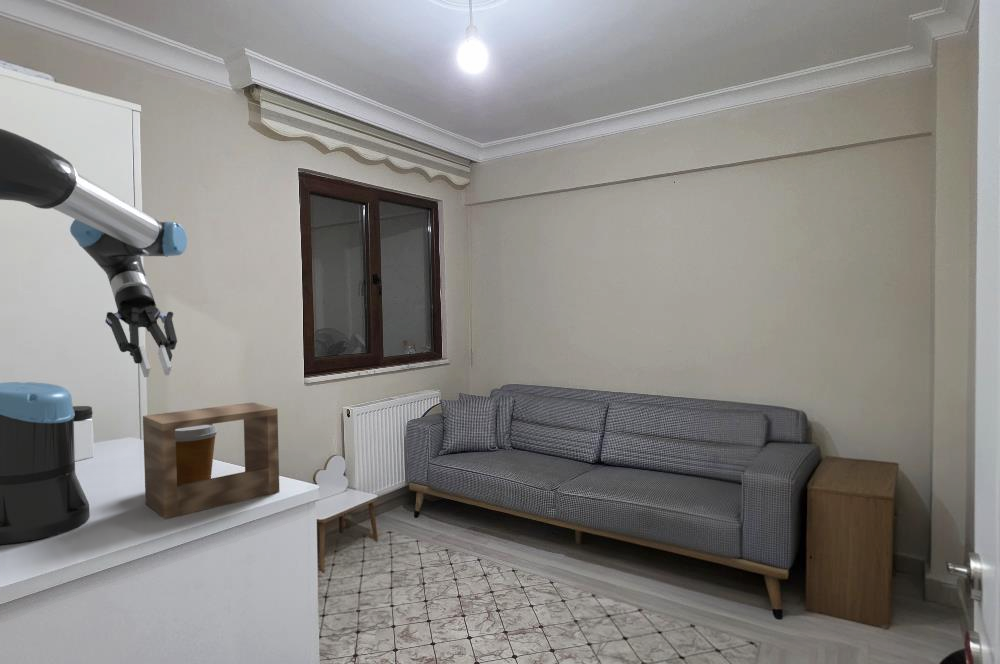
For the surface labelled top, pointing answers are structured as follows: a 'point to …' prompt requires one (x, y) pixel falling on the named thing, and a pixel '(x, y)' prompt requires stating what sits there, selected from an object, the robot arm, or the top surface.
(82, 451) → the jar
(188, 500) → the walnut shelf
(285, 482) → the top surface
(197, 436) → the disposable coffee cup
